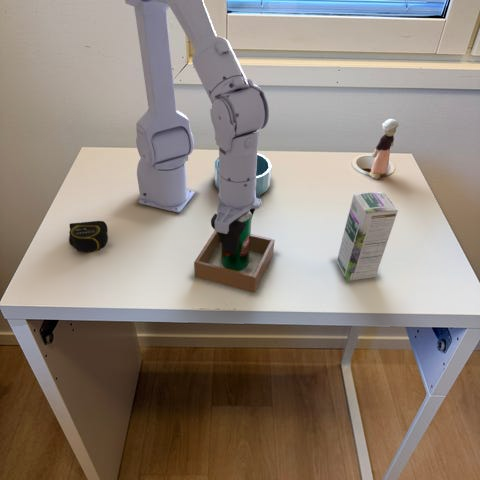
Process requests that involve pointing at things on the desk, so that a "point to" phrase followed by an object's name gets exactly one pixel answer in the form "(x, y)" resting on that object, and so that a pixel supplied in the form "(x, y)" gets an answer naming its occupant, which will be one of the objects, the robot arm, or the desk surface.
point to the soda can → (239, 247)
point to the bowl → (261, 173)
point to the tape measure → (88, 236)
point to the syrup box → (366, 235)
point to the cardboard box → (232, 276)
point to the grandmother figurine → (383, 149)
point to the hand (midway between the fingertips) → (235, 243)
